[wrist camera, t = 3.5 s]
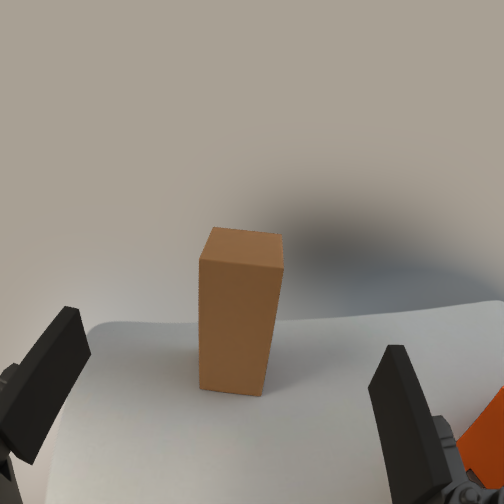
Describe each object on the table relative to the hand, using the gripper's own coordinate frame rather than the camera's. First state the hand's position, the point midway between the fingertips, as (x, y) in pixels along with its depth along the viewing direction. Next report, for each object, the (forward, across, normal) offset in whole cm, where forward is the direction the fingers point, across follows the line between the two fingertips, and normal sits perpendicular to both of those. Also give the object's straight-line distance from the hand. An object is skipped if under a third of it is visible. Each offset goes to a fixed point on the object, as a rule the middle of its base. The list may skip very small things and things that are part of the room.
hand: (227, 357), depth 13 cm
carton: (+10, 0, -12) cm, 15 cm away
